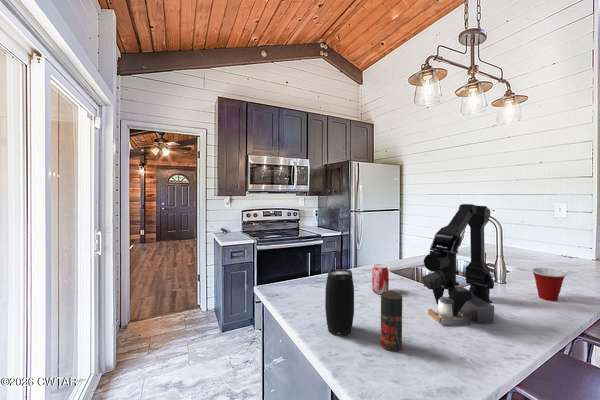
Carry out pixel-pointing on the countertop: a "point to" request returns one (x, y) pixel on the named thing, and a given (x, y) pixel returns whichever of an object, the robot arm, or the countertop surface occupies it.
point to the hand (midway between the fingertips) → (446, 309)
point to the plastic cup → (548, 282)
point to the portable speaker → (339, 301)
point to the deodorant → (391, 321)
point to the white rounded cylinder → (445, 307)
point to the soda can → (380, 278)
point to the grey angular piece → (468, 314)
